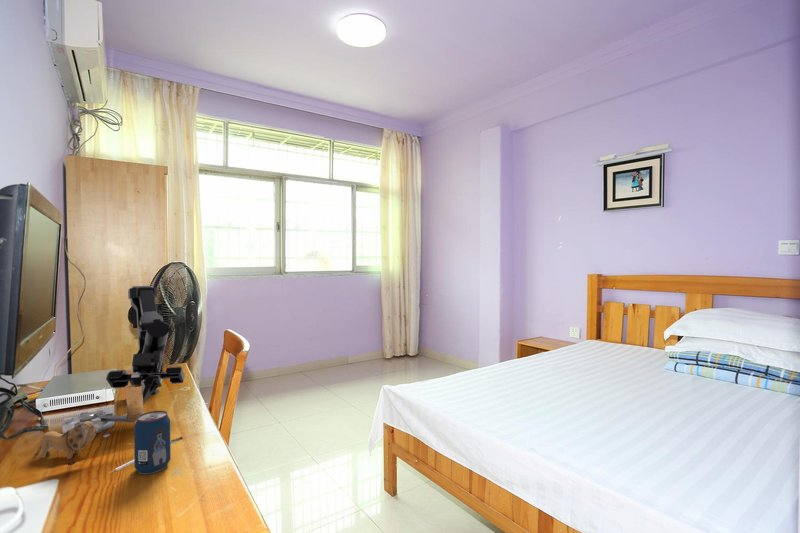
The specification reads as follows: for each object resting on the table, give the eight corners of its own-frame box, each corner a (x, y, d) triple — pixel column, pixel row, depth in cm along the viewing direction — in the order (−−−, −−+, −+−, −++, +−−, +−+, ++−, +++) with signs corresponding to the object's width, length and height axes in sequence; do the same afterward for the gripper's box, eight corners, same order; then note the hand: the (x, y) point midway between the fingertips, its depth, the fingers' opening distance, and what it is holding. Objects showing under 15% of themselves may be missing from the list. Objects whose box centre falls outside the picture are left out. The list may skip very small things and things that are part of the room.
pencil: (182, 439, 103) (182, 437, 103) (108, 476, 86) (108, 473, 86) (180, 439, 104) (180, 436, 104) (106, 475, 86) (105, 472, 86)
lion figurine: (102, 453, 95) (102, 417, 95) (87, 465, 90) (86, 426, 90) (37, 456, 94) (37, 419, 94) (18, 468, 89) (17, 428, 89)
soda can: (148, 459, 93) (147, 409, 92) (177, 460, 92) (176, 409, 92) (126, 475, 86) (126, 421, 86) (158, 476, 86) (157, 421, 85)
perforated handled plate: (51, 436, 101) (50, 392, 101) (87, 419, 112) (86, 379, 112) (126, 438, 100) (125, 393, 100) (155, 421, 111) (155, 380, 111)
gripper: (108, 342, 111) (90, 394, 101) (181, 339, 117) (172, 388, 107) (119, 363, 119) (104, 413, 109) (188, 358, 125) (179, 406, 114)
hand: (140, 404), depth 109 cm, fingers closed
